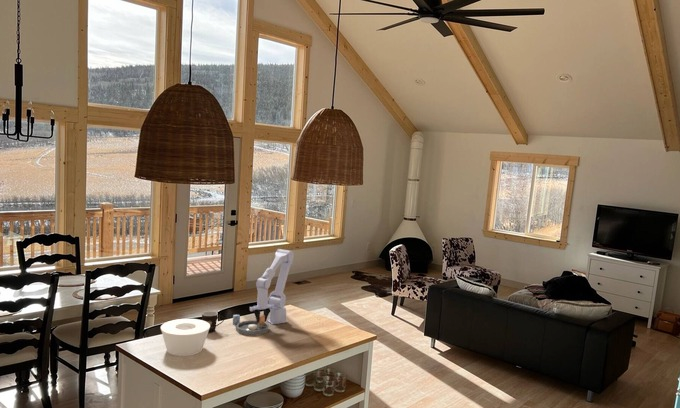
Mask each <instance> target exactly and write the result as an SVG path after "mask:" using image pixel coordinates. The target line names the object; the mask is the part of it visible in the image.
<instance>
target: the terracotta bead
mask: <svg viewBox="0 0 680 408" xmlns="http://www.w3.org/2000/svg"><path fill="white" fill-rule="evenodd" d="M265 323H266V322H265V315H264V314H260V317H259V323H258V325H264V324H265Z"/></svg>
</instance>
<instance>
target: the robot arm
mask: <svg viewBox="0 0 680 408" xmlns="http://www.w3.org/2000/svg"><path fill="white" fill-rule="evenodd" d="M294 259H295V254H294V251H293V250H287V249H281V248H277V249H276V251H275V253H274V259H273V261H272V262H271V265H270V267H267V268H266V270H264V273H263V274H262V275H261V277H258V278H257V280H256V282H255V285H256V290H257V297H256V298H257V302H256V304H257V305H253V306H249V311H250V312H253V314H254V316H255V321H256V322H258V323H259V317H260V315H261V310H263V311H262V312H263V315H265V323H267V322H268V323H270V324H271V325H278V324H279V325H280V324H284V323H287V309H286V307H285V306H286V300H287V296H286V294H285V293H284V291H285V287H286V283H287V279H288V276H289V271H290V268H291V265H293V261H294ZM280 265H281V267H280V270H279V273H278V277H277V280H276V285H275V287H274V290H273V291H271V292H270V294H268V293H269V288H270V287H271V284H272V279H273V278H274V277H275V275H276V270H277V269H278V267H279V266H280ZM268 295H269V296H268ZM268 317H269V319H268Z"/></svg>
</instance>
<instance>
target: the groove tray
mask: <svg viewBox="0 0 680 408" xmlns="http://www.w3.org/2000/svg"><path fill="white" fill-rule="evenodd" d="M269 329H270V326H269V324H268V323H267V322H265V324H264V325H258V322H256V320H244V321H240V323H238V324H237V325H235V331H236V332H237V333H238V334H240V335H244V336H251V337H252V336H262V335H265V334H266V333H268V332H269Z"/></svg>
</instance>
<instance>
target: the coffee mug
mask: <svg viewBox="0 0 680 408" xmlns="http://www.w3.org/2000/svg"><path fill="white" fill-rule="evenodd" d="M219 318H222V319H223V320H222V321H221V322H219V323H217V321H218V319H219ZM201 320H203V321H206V322H208V323H209V324H210V328H209V331H208V334H212V333H214V332H215V331H216V327H217V326H219V325H221V324H222V323H223V322H224V321H225V317H224V316H223V315H219V316H218V312H217V311H212V310H210V311H207V310H206V311H204V312H202V313H201Z"/></svg>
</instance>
